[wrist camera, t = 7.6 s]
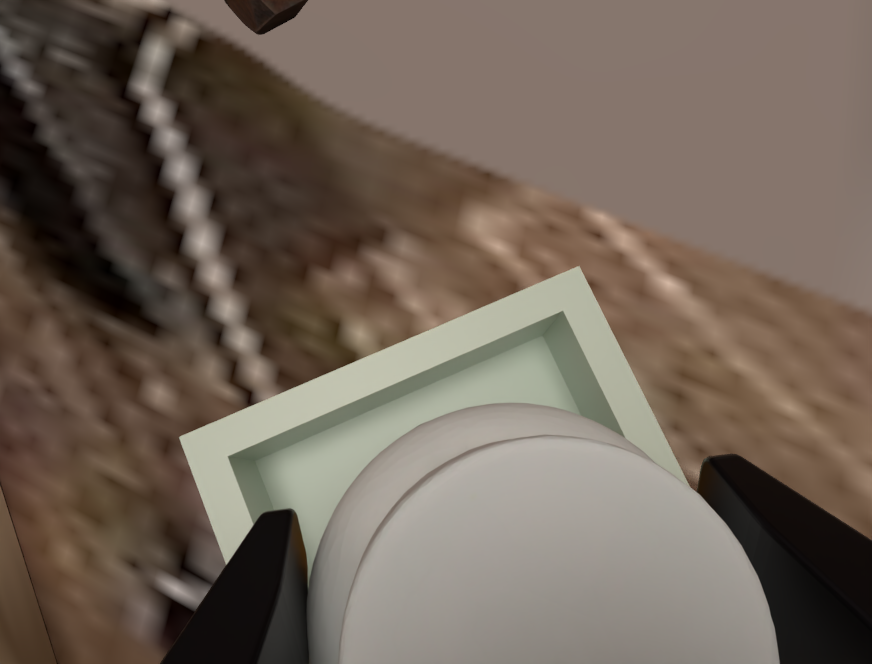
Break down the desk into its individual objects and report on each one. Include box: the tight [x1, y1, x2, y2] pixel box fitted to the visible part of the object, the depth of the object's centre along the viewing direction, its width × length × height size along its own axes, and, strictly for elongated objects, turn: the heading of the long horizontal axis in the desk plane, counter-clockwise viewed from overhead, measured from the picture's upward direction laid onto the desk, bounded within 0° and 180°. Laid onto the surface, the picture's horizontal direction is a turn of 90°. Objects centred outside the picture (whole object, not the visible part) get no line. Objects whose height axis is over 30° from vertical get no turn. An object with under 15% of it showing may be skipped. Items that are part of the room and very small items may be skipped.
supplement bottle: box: [306, 403, 780, 664], centre depth 11 cm, size 5×5×10 cm
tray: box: [179, 266, 690, 588], centre depth 17 cm, size 10×10×4 cm
